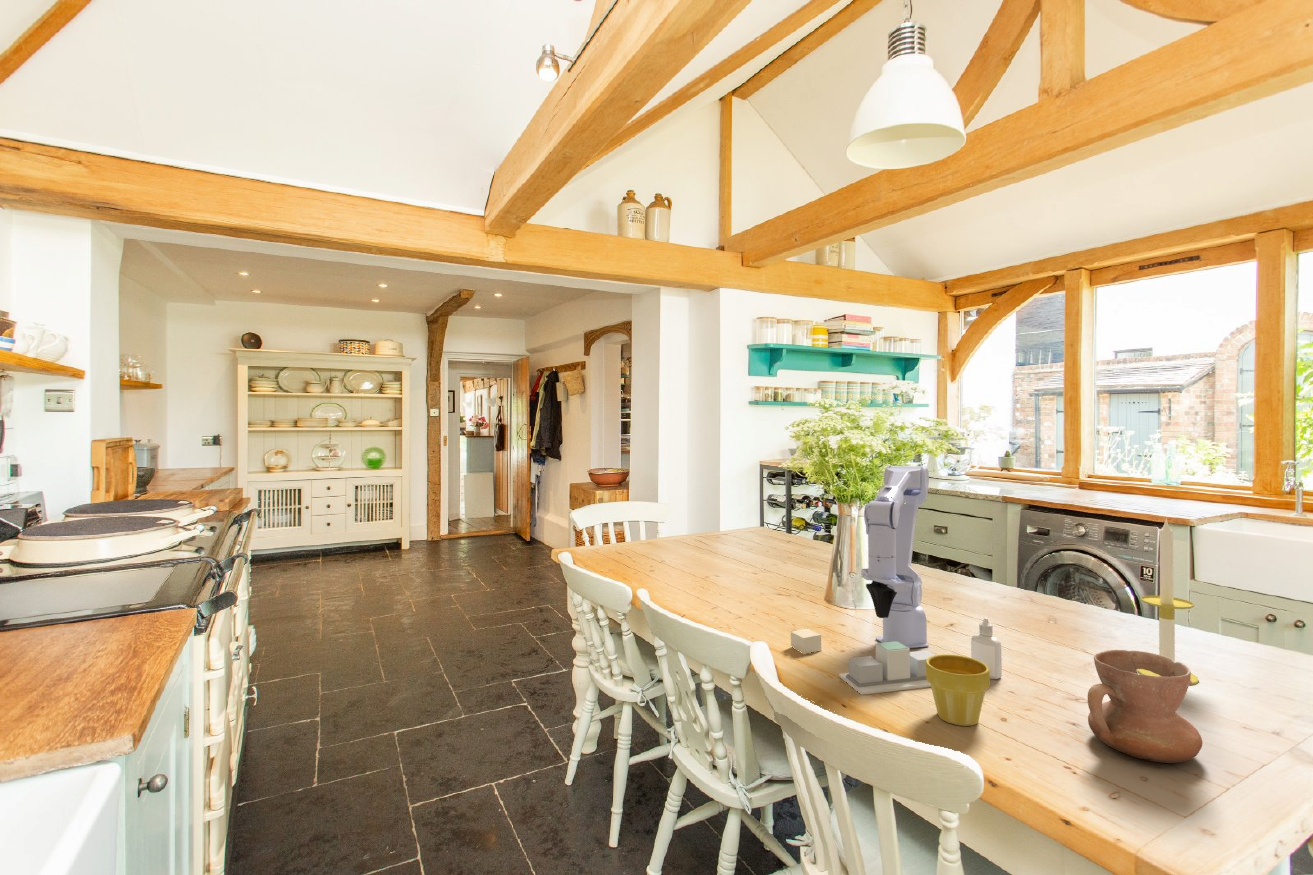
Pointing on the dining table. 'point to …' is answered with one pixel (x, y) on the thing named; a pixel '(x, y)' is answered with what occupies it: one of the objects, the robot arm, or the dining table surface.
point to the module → (893, 660)
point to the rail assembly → (870, 678)
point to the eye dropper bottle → (987, 649)
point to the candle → (1166, 601)
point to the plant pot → (958, 687)
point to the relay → (806, 640)
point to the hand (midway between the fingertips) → (882, 617)
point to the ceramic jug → (1142, 706)
